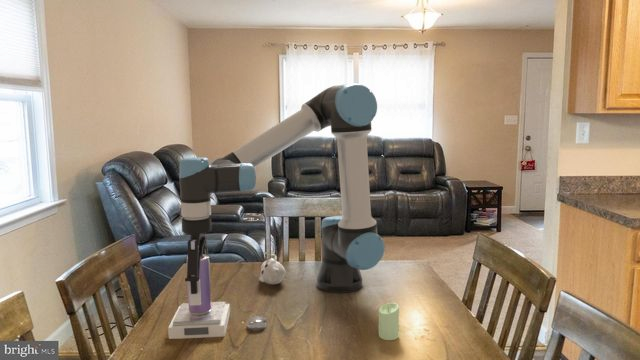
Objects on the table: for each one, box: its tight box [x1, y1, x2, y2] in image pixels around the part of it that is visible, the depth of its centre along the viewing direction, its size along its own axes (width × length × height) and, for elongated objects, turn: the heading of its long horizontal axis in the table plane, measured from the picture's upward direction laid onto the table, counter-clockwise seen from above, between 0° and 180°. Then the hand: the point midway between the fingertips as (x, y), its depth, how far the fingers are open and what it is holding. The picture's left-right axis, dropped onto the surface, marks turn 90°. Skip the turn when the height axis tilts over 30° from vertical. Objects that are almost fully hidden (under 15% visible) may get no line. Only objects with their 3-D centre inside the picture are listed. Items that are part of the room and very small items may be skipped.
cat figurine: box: [259, 253, 286, 285], centre depth 162 cm, size 10×8×15 cm
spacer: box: [246, 315, 267, 332], centre depth 129 cm, size 5×5×2 cm
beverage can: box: [185, 254, 212, 315], centre depth 128 cm, size 6×6×15 cm
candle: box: [378, 302, 400, 341], centre depth 122 cm, size 5×5×8 cm
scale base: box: [167, 303, 231, 340], centre depth 129 cm, size 14×14×3 cm
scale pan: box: [173, 301, 227, 325], centre depth 129 cm, size 12×12×1 cm
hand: (199, 294), depth 128 cm, fingers open, 13 cm apart
